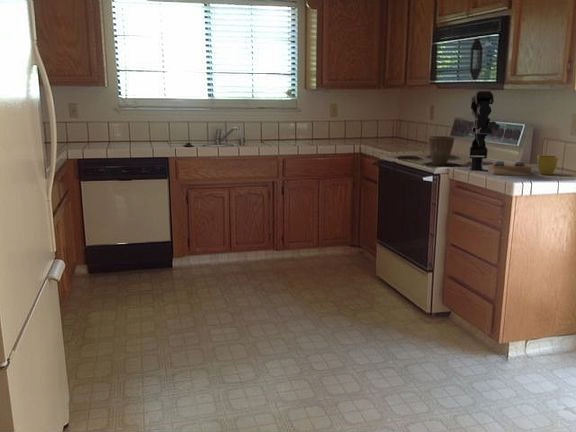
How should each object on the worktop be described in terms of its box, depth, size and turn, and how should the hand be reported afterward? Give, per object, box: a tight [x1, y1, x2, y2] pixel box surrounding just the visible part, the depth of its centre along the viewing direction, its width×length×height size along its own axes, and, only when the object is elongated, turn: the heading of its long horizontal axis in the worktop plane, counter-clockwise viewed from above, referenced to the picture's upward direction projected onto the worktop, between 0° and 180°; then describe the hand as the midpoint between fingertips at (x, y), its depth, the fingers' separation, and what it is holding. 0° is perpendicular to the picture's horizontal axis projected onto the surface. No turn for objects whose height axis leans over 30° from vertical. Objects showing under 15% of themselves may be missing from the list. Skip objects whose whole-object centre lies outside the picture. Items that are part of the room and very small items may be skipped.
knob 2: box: [514, 160, 526, 166], centre depth 275 cm, size 4×4×6 cm
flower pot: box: [537, 154, 558, 176], centre depth 274 cm, size 9×9×9 cm
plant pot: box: [427, 135, 455, 166], centre depth 319 cm, size 15×15×16 cm
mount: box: [487, 164, 532, 176], centre depth 276 cm, size 10×18×4 cm, turn 84°
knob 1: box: [494, 160, 505, 166], centre depth 276 cm, size 4×4×6 cm
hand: (480, 147), depth 278 cm, fingers closed
